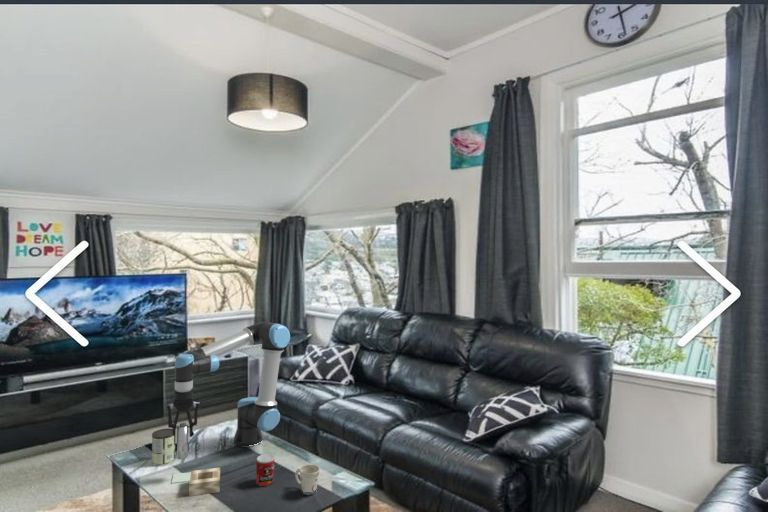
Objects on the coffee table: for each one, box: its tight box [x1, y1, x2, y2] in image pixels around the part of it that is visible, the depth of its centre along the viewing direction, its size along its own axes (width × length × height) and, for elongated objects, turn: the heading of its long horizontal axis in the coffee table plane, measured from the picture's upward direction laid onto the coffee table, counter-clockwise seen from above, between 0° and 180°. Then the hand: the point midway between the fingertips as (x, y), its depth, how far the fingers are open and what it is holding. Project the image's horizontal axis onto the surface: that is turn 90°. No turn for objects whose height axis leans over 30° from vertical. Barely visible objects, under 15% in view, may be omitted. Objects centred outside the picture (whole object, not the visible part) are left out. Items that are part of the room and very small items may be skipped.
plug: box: [176, 422, 189, 460], centre depth 209 cm, size 4×4×15 cm
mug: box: [294, 464, 320, 492], centre depth 201 cm, size 8×13×10 cm, turn 58°
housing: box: [188, 467, 221, 497], centre depth 202 cm, size 12×12×5 cm
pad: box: [171, 471, 191, 485], centre depth 210 cm, size 8×8×1 cm
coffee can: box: [151, 427, 176, 467], centre depth 225 cm, size 10×10×14 cm
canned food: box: [255, 453, 275, 487], centre depth 208 cm, size 8×8×11 cm
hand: (182, 441), depth 209 cm, fingers closed on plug, 4 cm apart
